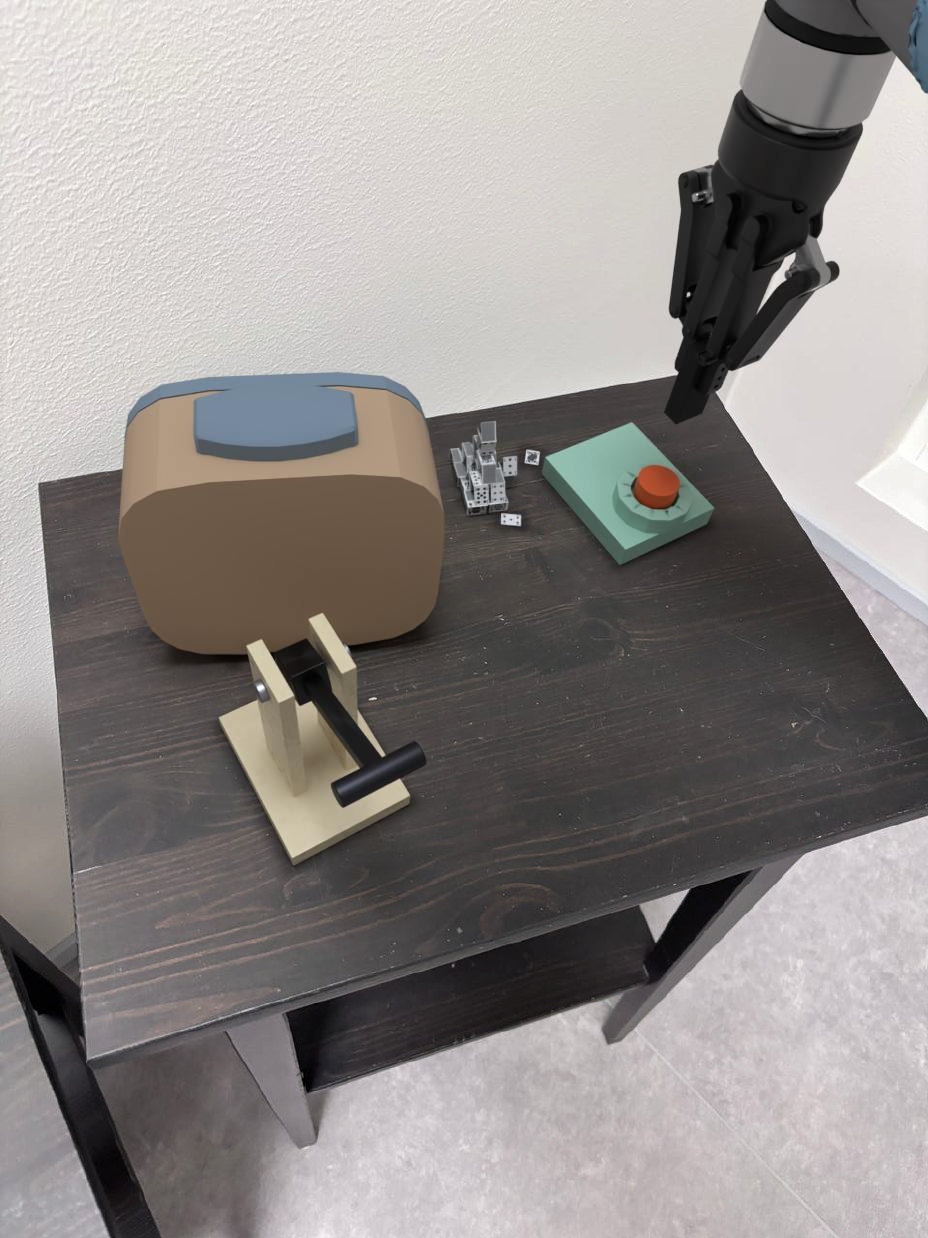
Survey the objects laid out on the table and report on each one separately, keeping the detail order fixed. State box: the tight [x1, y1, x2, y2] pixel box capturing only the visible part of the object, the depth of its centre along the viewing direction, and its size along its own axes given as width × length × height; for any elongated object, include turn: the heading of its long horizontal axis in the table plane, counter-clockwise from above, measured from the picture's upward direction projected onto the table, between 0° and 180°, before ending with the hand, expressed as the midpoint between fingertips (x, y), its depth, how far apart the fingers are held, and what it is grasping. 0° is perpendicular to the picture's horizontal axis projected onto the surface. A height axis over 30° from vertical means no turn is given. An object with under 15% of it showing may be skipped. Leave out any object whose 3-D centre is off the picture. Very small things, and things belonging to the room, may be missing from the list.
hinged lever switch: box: [218, 613, 411, 867], centre depth 60 cm, size 12×9×15 cm
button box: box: [541, 421, 715, 566], centre depth 81 cm, size 12×10×4 cm
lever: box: [273, 638, 427, 808], centre depth 52 cm, size 12×5×2 cm, turn 32°
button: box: [633, 465, 680, 509], centre depth 78 cm, size 4×4×2 cm
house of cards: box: [448, 420, 541, 527], centre depth 79 cm, size 9×9×8 cm
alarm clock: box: [117, 371, 446, 655], centre depth 64 cm, size 21×10×22 cm, turn 99°
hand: (683, 412), depth 71 cm, fingers closed
